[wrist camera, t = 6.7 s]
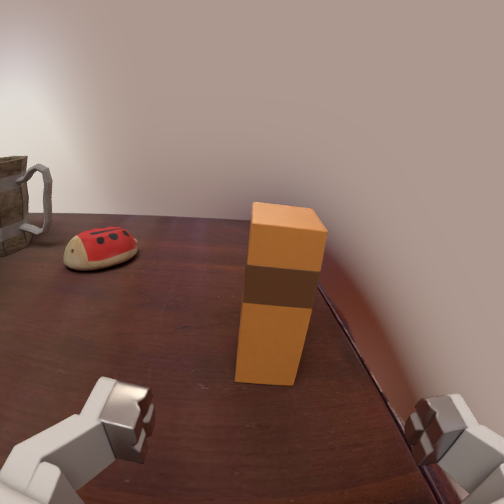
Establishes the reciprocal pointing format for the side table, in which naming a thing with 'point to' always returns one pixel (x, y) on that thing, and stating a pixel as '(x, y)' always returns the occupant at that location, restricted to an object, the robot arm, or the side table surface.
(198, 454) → the side table surface
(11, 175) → the mug
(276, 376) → the granola carton
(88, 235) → the ladybug figurine
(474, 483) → the robot arm
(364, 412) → the side table surface
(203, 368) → the side table surface
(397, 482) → the side table surface
